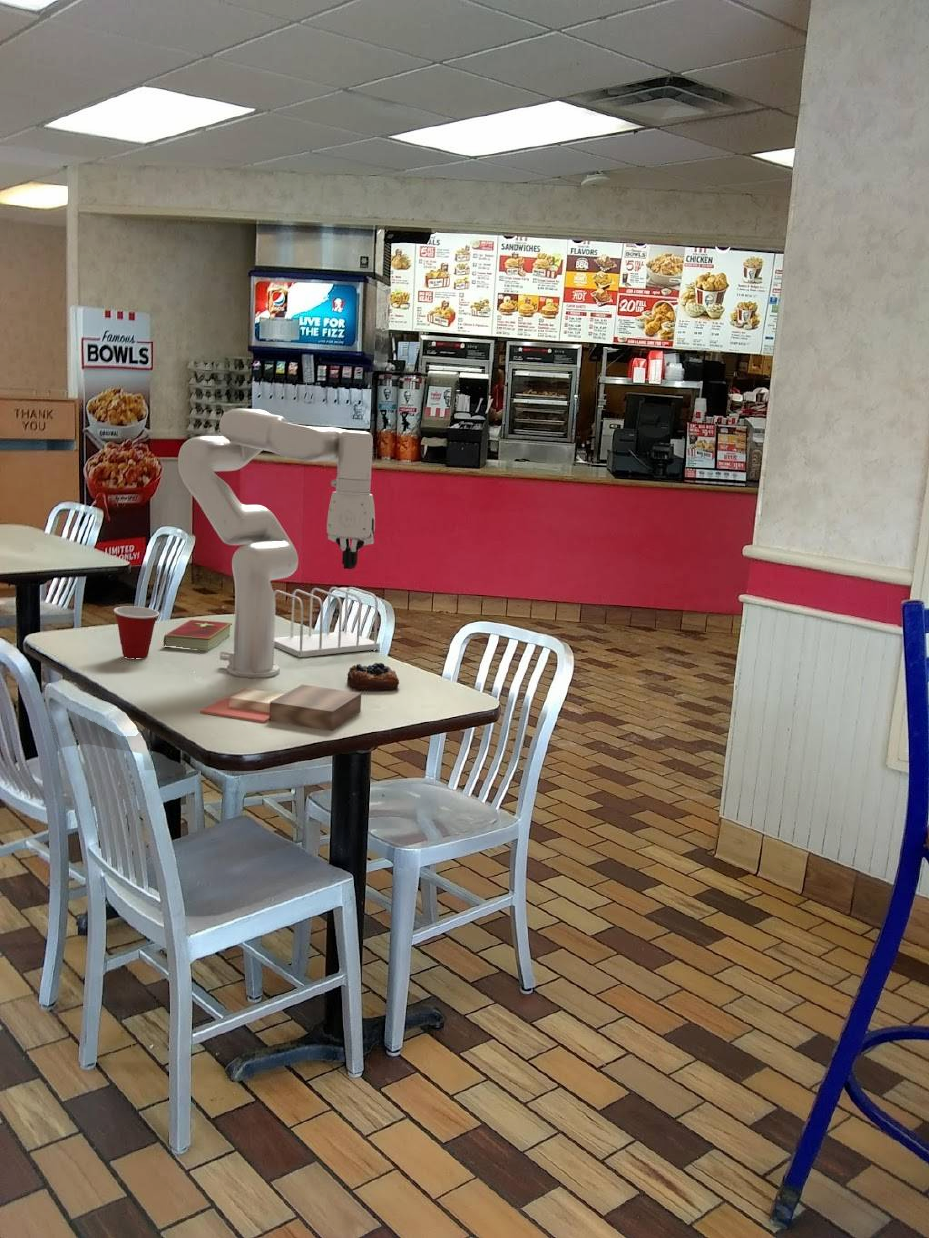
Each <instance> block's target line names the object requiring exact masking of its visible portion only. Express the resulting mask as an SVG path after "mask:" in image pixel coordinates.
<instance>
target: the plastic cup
mask: <svg viewBox="0 0 929 1238" xmlns="http://www.w3.org/2000/svg"><path fill="white" fill-rule="evenodd" d="M113 612H114V614H115V618H116V623H117V629H118V634H119V640H120V646H121V653H122V656H123V658H124V657H127V658H134V659H136V658H145V657H147V658H148V656H149V651H150V647H151V646H150V645H151V643H152V640H153V639H152V637H153V635H154V629H155V624H156V622H157V619H158V617H159V616H160V612H159V611H158V610H155V609H152V608H149V607H143V606H136V605H135V606H133V605H129V606H128V605H127V606H126V605H125V606H124V605H123V606H119V607H118V606H117V607H115V608H113ZM145 659H146V658H145Z"/></svg>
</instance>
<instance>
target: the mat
mask: <svg viewBox="0 0 929 1238" xmlns="http://www.w3.org/2000/svg"><path fill="white" fill-rule="evenodd" d="M245 689H246V688H243V689H241V690H239V691H237V692H235V693H233V694H230V695H229V696H227V697H225V698H223V699H221V700H218V701H217V702H215V703H212V704H211V705H208V706H207V707H204V708H202V709H200V711H199V714H205V715H206V714H207V715H213V716H219V717H224V716H226V717H225V718H230V717H232V718H231V719H235V720H236V719H238V720H242V721H243V720H244V721H249V722H257V723H261V722H265V723H266V722H269V712H262V711H255V710H249V709H242V708H235V707H229V703H230V697H232V696H234V695H236V694H238V693H240V692H241V691H243V690H245ZM251 690H253V689H251Z"/></svg>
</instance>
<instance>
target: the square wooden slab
mask: <svg viewBox="0 0 929 1238" xmlns="http://www.w3.org/2000/svg"><path fill="white" fill-rule="evenodd" d="M361 708H362V693H361V692H357V691H348V690H343V689H342V690H341V689H335V688H329V687H323V686H322V687H321V686H315V685H308V684H300V685H299V686H297V687H295V688H294V689H291V690H289V691H287V692H286V693H284V695H282V696H280V697H278V698H276V699H274V700H273V701H271V702H270V712H269V721H271V722H276V723H282V722H283V723H282V724H288V723H289V725H293V726H294V725H295V726H300V727H301V726H302V727H308V728H312V729H313V728H314V729H320V730H327V731H333V730H335V729H336V728H337V727H339V726H340V725H342V724H343V723H345V722H346V721H348V720H350V719H351V718H352V717H354V716H355V715H357V714H359V713H360V712H361V711H362V710H361ZM356 713H357V714H356ZM353 715H354V716H353ZM269 721H268V722H269Z"/></svg>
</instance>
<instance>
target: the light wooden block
mask: <svg viewBox="0 0 929 1238" xmlns="http://www.w3.org/2000/svg"><path fill="white" fill-rule="evenodd" d="M244 689H245V690H243V689H242V690H243V691H241V690H240V691H241V692H240V693H238V694H236V695H234V696H232V697H230V703H229V707H235V708H242V709H249V710H255V711H262V712H270V702H271V701H273V700H274V699H276V698H278V697H280V696H282V695H284V694H285V693H284V694H283V693H277V692H270V691H264V690H258V689H252V690H251V689H250V688H244Z"/></svg>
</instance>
